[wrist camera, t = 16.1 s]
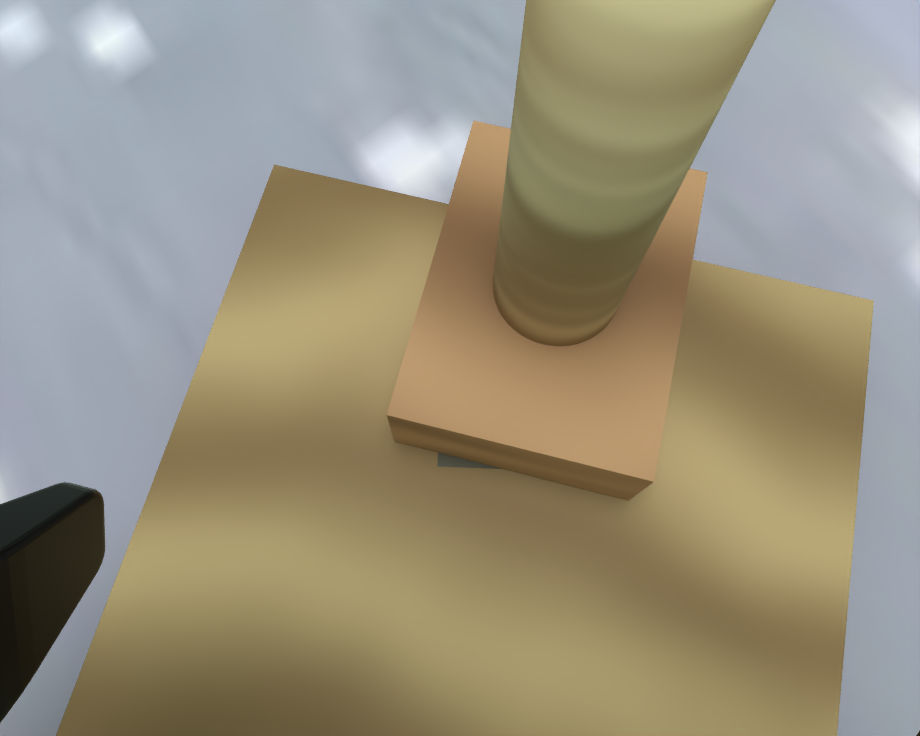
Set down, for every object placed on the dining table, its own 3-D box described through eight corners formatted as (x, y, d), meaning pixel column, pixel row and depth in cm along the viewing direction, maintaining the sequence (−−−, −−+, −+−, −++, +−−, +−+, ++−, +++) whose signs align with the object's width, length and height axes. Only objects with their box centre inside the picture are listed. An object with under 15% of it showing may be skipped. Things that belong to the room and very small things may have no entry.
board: (780, 1017, 17) (810, 1053, 16) (56, 805, 18) (22, 821, 17) (846, 321, 22) (873, 300, 21) (284, 192, 23) (274, 164, 22)
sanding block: (628, 500, 19) (953, 256, 7) (394, 441, 19) (297, 111, 7) (679, 223, 22) (981, -321, 9) (471, 175, 22) (497, -404, 10)
